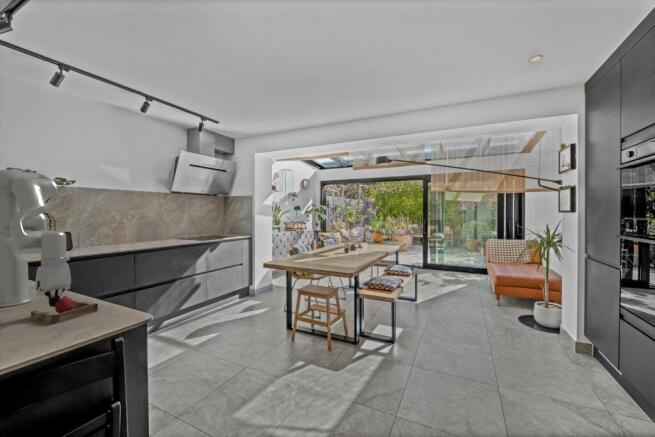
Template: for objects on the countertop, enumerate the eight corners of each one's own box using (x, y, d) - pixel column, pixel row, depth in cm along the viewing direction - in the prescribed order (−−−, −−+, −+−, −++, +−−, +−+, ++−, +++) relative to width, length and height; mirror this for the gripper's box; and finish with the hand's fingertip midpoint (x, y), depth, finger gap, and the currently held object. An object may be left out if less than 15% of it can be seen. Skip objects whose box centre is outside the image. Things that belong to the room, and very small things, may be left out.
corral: (31, 319, 111) (30, 311, 111) (75, 307, 125) (75, 300, 125) (54, 323, 107) (54, 315, 107) (97, 310, 121) (97, 303, 121)
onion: (61, 318, 112) (60, 298, 112) (51, 316, 114) (51, 296, 114) (78, 313, 118) (77, 294, 118) (68, 311, 120) (68, 292, 119)
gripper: (69, 258, 126) (69, 300, 127) (24, 264, 112) (25, 311, 112) (80, 259, 124) (81, 301, 124) (36, 265, 110) (37, 313, 110)
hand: (54, 306), depth 118 cm, fingers closed
